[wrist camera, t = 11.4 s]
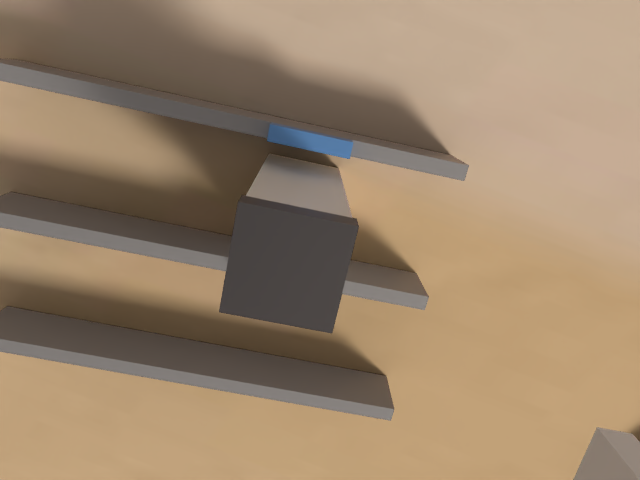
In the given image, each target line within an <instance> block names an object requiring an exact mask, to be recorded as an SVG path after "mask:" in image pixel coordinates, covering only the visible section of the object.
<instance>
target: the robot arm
mask: <svg viewBox="0 0 640 480" xmlns="http://www.w3.org/2000/svg"><path fill="white" fill-rule="evenodd" d="M573 480H640V442H639V441H638V440H637V438H636V437H635V436H634V435H633V434H632V433H626V432H621V431H615V430H609V429H604V428H598V427H597V428H596V431H595V433H594V435H593V437H592V439H591V442H590V444H589V446H588V448H587V450H586V453H585V455H584V457H583V459H582V462H581V464H580V466H579V468H578V470H577V473H576V475H575V477H574V479H573Z"/></svg>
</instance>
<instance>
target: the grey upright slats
mask: <svg viewBox="0 0 640 480" xmlns="http://www.w3.org/2000/svg"><path fill="white" fill-rule="evenodd" d="M0 81H5V82H9V83H14V84H18V85H23V86H28V87H32V88H37V89H42V90H46V91H51V92H55V93H60V94H65V95H69V96H74V97H79V98H83V99H88V100H92V101H97V102H102V103H106V104H111V105H116V106H120V107H125V108H129V109H134V110H139V111H143V112H148V113H152V114H157V115H162V116H166V117H171V118H176V119H180V120H185V121H189V122H194V123H199V124H203V125H208V126H213V127H217V128H222V129H226V130H231V131H236V132H240V133H245V134H250V135H254V136H259V137H263V138H267V141H268V142H273V143H278V144H282V145H287V146H292V147H296V148H301V149H305V150H310V151H315V152H319V153H324V154H329V155H333V156H338V157H343V158H347V159H350V156H351V157H356V158H360V159H365V160H370V161H374V162H379V163H384V164H388V165H393V166H397V167H402V168H407V169H411V170H416V171H421V172H425V173H430V174H434V175H439V176H444V177H448V178H453V179H457V180H462V181H464V180H465V177H466V174H467V170H468V167H469V165H467V164H466V163H464V162H462V161H460V160H459V159H457V158H455V157H454V156H452V155H449V154H444V153H440V152H435V151H431V150H426V149H421V148H417V147H412V146H408V145H403V144H399V143H394V142H390V141H385V140H381V139H376V138H371V137H367V136H362V135H358V134H353V133H349V132H344V131H340V130H335V129H331V128H326V127H321V126H317V125H312V124H308V123H303V122H299V121H294V120H290V119H285V118H281V117H276V116H271V115H267V114H262V113H258V112H253V111H249V110H244V109H240V108H235V107H231V106H226V105H221V104H217V103H212V102H208V101H203V100H199V99H194V98H190V97H185V96H181V95H176V94H171V93H167V92H162V91H158V90H153V89H149V88H144V87H140V86H135V85H131V84H126V83H121V82H117V81H112V80H108V79H103V78H99V77H94V76H90V75H85V74H81V73H76V72H71V71H67V70H62V69H58V68H53V67H49V66H44V65H40V64H35V63H31V62H26V61H21V60H17V59H2V58H0ZM0 227H1V228H6V229H11V230H16V231H22V232H27V233H32V234H37V235H42V236H47V237H52V238H57V239H63V240H68V241H73V242H78V243H83V244H88V245H93V246H99V247H104V248H109V249H114V250H119V251H124V252H129V253H134V254H140V255H145V256H150V257H155V258H160V259H165V260H170V261H175V262H181V263H186V264H191V265H196V266H201V267H206V268H211V269H217V270H222V271H226V269H227V263H228V257H229V252H230V246H231V240H232V236H229V235H224V234H219V233H214V232H209V231H204V230H199V229H194V228H189V227H184V226H179V225H174V224H169V223H164V222H159V221H154V220H149V219H144V218H139V217H134V216H129V215H124V214H119V213H114V212H109V211H104V210H99V209H94V208H89V207H84V206H79V205H74V204H69V203H64V202H59V201H54V200H49V199H44V198H39V197H34V196H29V195H24V194H19V193H14V192H9V193H7V194H4V195H2V196H0ZM342 294H345V295H350V296H355V297H360V298H365V299H370V300H376V301H381V302H386V303H391V304H396V305H401V306H406V307H411V308H417V309H422V310H425V307H426V304H427V301H428V298H429V296H428V295H427V293H426V291H425V289H424V287H423V285H422V283H421V281H420V279H419V277H418V275H417V273H413V272H408V271H403V270H398V269H393V268H388V267H383V266H378V265H373V264H368V263H363V262H358V261H353V260H350V264H349V268H348V272H347V276H346V280H345V284H344V288H343V292H342ZM0 352H5V353H11V354H17V355H22V356H28V357H34V358H39V359H45V360H51V361H56V362H62V363H68V364H73V365H79V366H85V367H90V368H96V369H102V370H107V371H113V372H119V373H124V374H130V375H135V376H141V377H147V378H152V379H158V380H164V381H169V382H175V383H181V384H186V385H192V386H198V387H203V388H209V389H215V390H220V391H226V392H232V393H237V394H243V395H249V396H254V397H260V398H266V399H271V400H277V401H283V402H288V403H294V404H300V405H305V406H311V407H317V408H322V409H328V410H333V411H339V412H345V413H350V414H356V415H362V416H367V417H373V418H379V419H384V420H390V421H391V419H392V415H393V412H394V406H393V402H392V398H391V394H390V389H389V385H388V381H387V377H386V376H385V375H379V374H374V373H368V372H363V371H357V370H352V369H346V368H341V367H336V366H330V365H325V364H319V363H314V362H308V361H303V360H297V359H292V358H287V357H281V356H276V355H270V354H265V353H259V352H254V351H248V350H243V349H238V348H232V347H227V346H221V345H216V344H210V343H205V342H199V341H194V340H188V339H183V338H178V337H172V336H167V335H161V334H156V333H150V332H145V331H139V330H134V329H129V328H123V327H118V326H112V325H107V324H101V323H96V322H90V321H85V320H80V319H74V318H69V317H63V316H58V315H52V314H47V313H41V312H36V311H31V310H25V309H20V308H14V307H9V306H7V307H5V308H4V309H3V310H1V311H0Z"/></svg>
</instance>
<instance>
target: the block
mask: <svg viewBox="0 0 640 480" xmlns="http://www.w3.org/2000/svg"><path fill="white" fill-rule="evenodd" d="M358 228H359V225H358V222H357V219H356V218H352V215H351V211H350V207H349V204H348V200H347V196H346V193H345V189H344V186H343V182H342V178H341V175H340V171H339V168H336V167H331V166H326V165H322V164H317V163H312V162H308V161H303V160H298V159H294V158H289V157H284V156H280V155H275V154H270V153H269V154H268V156H267V158H266V160H265V162H264V164H263V165H262V167H261V169H260V171H259V173H258V174H257V176H256V178H255V180H254V182H253V183H252V185H251V187H250V189H249V191H248V192H247V194H246V196H244V195H242V196H241V198H240V199H239V201H238V205H237V211H236V217H235V223H234V228H233V234H232V240H231V246H230V252H229V257H228V263H227V269H226V275H225V280H224V286H223V292H222V298H221V304H220V309H219V312H221V313H226V314H231V315H237V316H242V317H247V318H253V319H258V320H263V321H269V322H274V323H279V324H285V325H290V326H295V327H301V328H306V329H311V330H316V331H322V332H327V333H332V332H333V328H334V324H335V320H336V316H337V312H338V308H339V304H340V300H341V296H342V292H343V288H344V284H345V280H346V276H347V272H348V268H349V264H350V260H351V256H352V252H353V248H354V244H355V240H356V236H357V232H358Z"/></svg>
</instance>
